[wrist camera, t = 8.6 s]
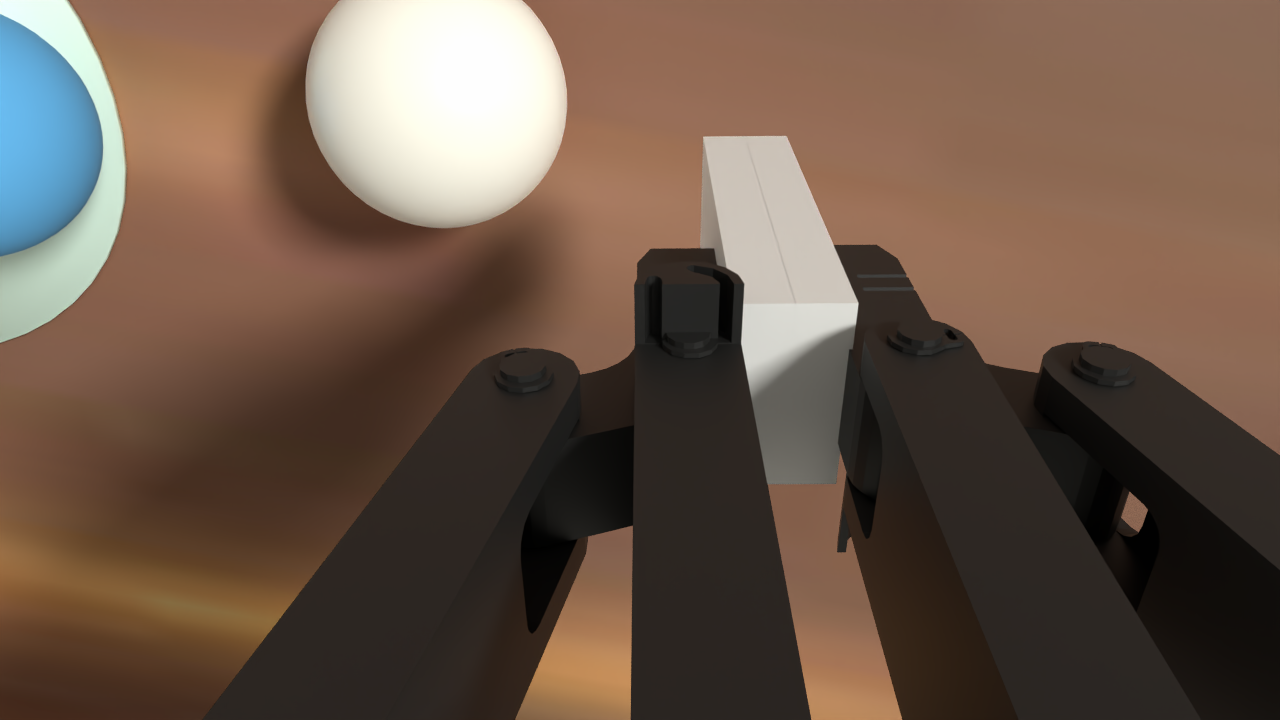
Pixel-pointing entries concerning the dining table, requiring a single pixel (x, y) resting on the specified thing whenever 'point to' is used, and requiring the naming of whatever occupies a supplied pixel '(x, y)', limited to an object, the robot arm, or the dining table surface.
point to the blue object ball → (42, 140)
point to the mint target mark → (71, 259)
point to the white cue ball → (436, 105)
